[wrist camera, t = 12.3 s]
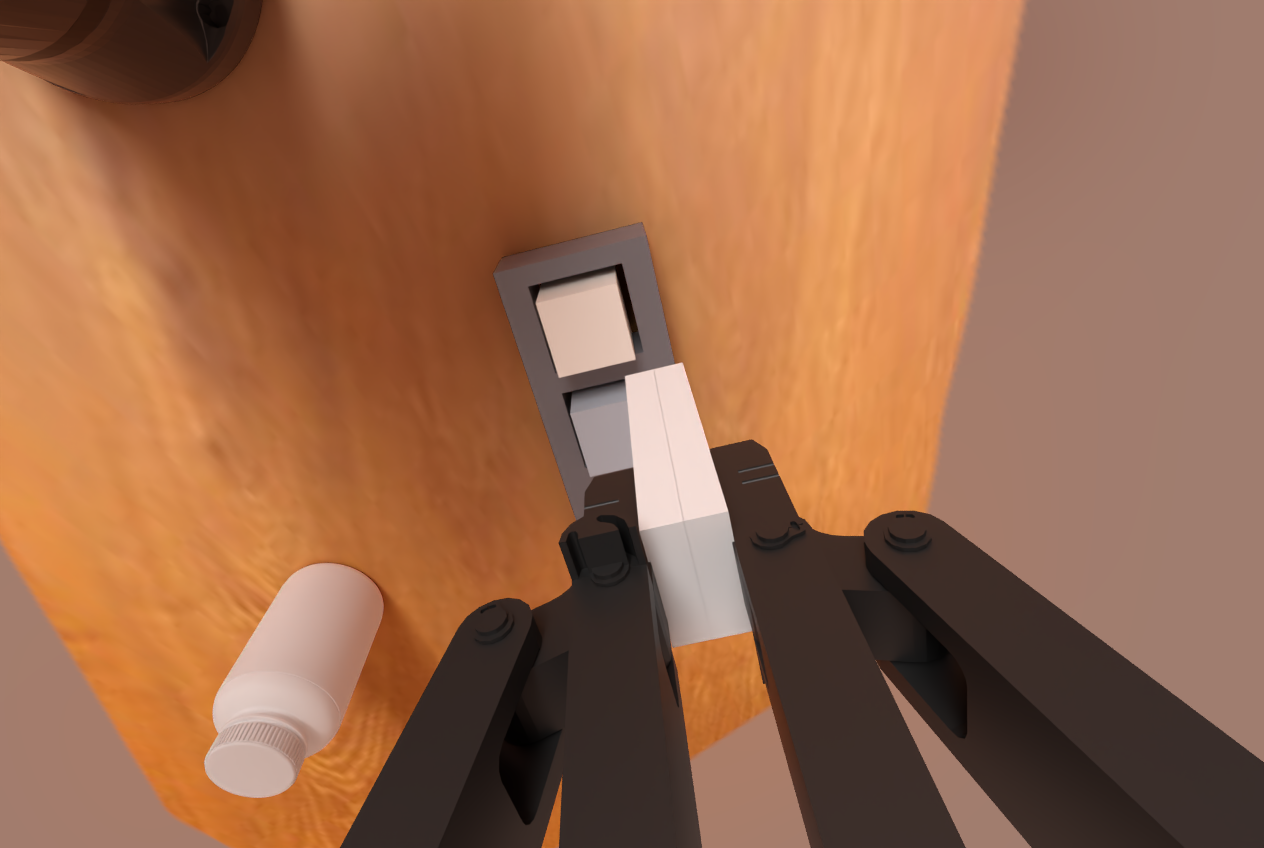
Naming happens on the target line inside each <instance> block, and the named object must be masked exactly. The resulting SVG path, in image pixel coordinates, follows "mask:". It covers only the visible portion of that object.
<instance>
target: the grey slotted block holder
mask: <svg viewBox="0 0 1264 848" xmlns="http://www.w3.org/2000/svg"><path fill="white" fill-rule="evenodd" d="M621 263H622V265H623V269H624V274H625V278H626V282H627V286H628V290H629V294H630V298H631V302H632V306H633V310H634V314H635V319H636V323H637V327H638V331H637V332H633V333H632V337H633V344H634V351H635V358H636V360H632V361H628V362H624V363H620V364H615V365H611V366H607V367H603V368H599V369H594V370H590V371H586V372H582V373H578V374H573V375H569V376H565V377H561V378H559V376H558V373H557V370H556V367H555V364H554V360H553V357H552V354H551V351H550V348H549V344H548V341H547V338H546V335H545V332H544V329H543V325H542V322H541V319H540V316H539V313H538V309H537V306H536V300H537V297H538V294H539V290H540V288H539V285H538V284H540V283H544V282H548V281H552V280H556V279H560V278H565V277H569V276H573V275H577V274H581V273H585V272H589V271H593V270H597V269H601V268H605V267H609V266H613V265H617V264H621ZM493 276H494V279H495V281H496V284H497V287H498V290H499V293H500V296H501V299H502V302H503V305H504V308H505V311H506V314H507V317H508V320H509V323H510V326H511V329H512V332H513V335H514V338H515V341H516V344H517V347H518V350H519V353H520V355H521V358H522V361H523V364H524V367H525V370H526V373H527V376H528V379H529V382H530V385H531V388H532V391H533V394H534V397H535V400H536V403H537V406H538V409H539V412H540V415H541V418H542V421H543V424H544V426H545V429H546V432H547V435H548V438H549V441H550V444H551V447H552V450H553V453H554V456H555V459H556V462H557V465H558V468H559V471H560V474H561V477H562V480H563V483H564V486H565V489H566V492H567V495H568V498H569V500H570V503H571V506H572V509H573V512H574V515H575V518H576V521H577V520H578V519H580V518H582V517H583V516H584V510H585V508H584V496H585V491H586V489H587V488H588V486H589V484H590V483H591V481H592V480H593V478H594V477H596V476H592V477H590V475H589V472H588V469H587V465H586V462H585V459H584V456H583V453H582V450H581V446H580V443H579V440H578V437H577V434H576V430H575V427H574V424H573V421H572V418H571V415H570V411H571V399H572V392H571V391H575V390H579V389H583V388H587V387H592V386H596V385H600V384H604V383H608V382H613V381H617V380H621V379H625V376H627V375H632V374H636V373H640V372H644V371H648V370H653V369H657V368H661V367H665V366H669V365H674V364H675V362H674V357H673V353H672V348H671V344H670V339H669V335H668V330H667V326H666V322H665V317H664V313H663V308H662V304H661V299H660V295H659V290H658V286H657V281H656V277H655V272H654V268H653V263H652V259H651V254H650V250H649V245H648V241H647V236H646V233H645V230H644V227H643V224H642V222H641V223H637V224H633V225H629V226H625V227H621V228H617V229H613V230H609V231H605V232H601V233H597V234H593V235H589V236H585V237H581V238H578V239H574V240H570V241H566V242H562V243H558V244H554V245H550V246H546V247H542V248H538V249H534V250H530V251H526V252H522V253H518V254H514V255H510V256H506V257H502V258H501V260H500V262H499V264H498V265H497V267H496V269H495V271H494V273H493ZM632 468H633V467H632ZM632 468H627V469H632ZM627 469H623V470H627ZM623 470H619V471H623ZM614 472H618V471H614ZM614 472H610V473H614ZM610 473H605V474H610ZM605 474H601V475H605ZM601 475H597V476H601Z"/></svg>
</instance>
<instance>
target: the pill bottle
mask: <svg viewBox="0 0 1264 848" xmlns="http://www.w3.org/2000/svg"><path fill="white" fill-rule="evenodd" d="M383 610H384V604H383V598H382V595H381V593H380V591H379V589H378V587H377V586H376V584H375V583H374V582H373V581H372V580H371V579H370V578H369V577H367V576H366V575H365V574H363V573H362V572H360V571H358V570H356V569H354V568H351V567H348V566H345V565H341V564H335V563H319V564H313V565H309V566H306V567H304V568H302V569H300V570H298V571H297V572H295V573H294V574H293V575H291V576H290V577H289V578H288V580H287V581H286V582H285V583H284V585H283V586H282V587H281V589H280V591H279V592H278V594H277V596H276V597H275V599H274V600H273V602H272V604H271V605H270V607H269V609H268V610H267V612H266V614H265V615H264V617H263V618H262V620H261V622H260V623H259V625H258V627H257V628H256V630H255V631H254V633H253V635H252V636H251V638H250V640H249V641H248V643H247V645H246V646H245V648H244V649H243V651H242V653H241V654H240V656H239V658H238V659H237V661H236V662H235V664H234V666H233V667H232V669H231V671H230V672H229V674H228V676H227V677H226V679H225V680H224V682H223V684H222V685H221V687H220V689H219V691H218V693H217V695H216V697H215V701H214V705H213V721H214V725H215V727H216V730H217V732H218V733H219V734H218V736H217V737H216V739H215V741H214V743H213V744H212V746H211V748H210V750H209V751H208V753H207V755H206V757H205V762H204V763H205V764H204V765H205V771H206V773H207V775H208V777H209V778H210V779H211V780H212V781H213V782H214V783H215V784H216V785H217V786H219V787H220V788H222V789H224V790H226V791H228V792H230V793H233V794H236V795H240V796H245V797H253V798H261V797H270V796H274V795H277V794H280V793H282V792H284V791H285V790H287V789H288V788H289V787H290V786H292V785H293V784H294V782H295V780H296V778H297V776H298V774H299V771H300V769H301V766H302V764H303V762H304V758H307V757H309V756H311V755H313V754H315V753H317V752H319V751H320V750H321V749H323V748H324V747H325V746H326V745H327V744H328V743H329V742H330V741H331V740H332V739H333V737H334V736H335V735H336V733H337V732H338V730H339V728H340V725H341V723H342V720H343V718H344V715H345V713H346V710H347V708H348V705H349V702H350V700H351V697H352V695H353V692H354V689H355V687H356V684H357V682H358V679H359V677H360V674H361V671H362V669H363V666H364V664H365V661H366V659H367V656H368V653H369V651H370V648H371V646H372V643H373V641H374V638H375V635H376V633H377V630H378V628H379V625H380V623H381V619H382V615H383Z"/></svg>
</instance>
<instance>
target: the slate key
mask: <svg viewBox="0 0 1264 848" xmlns="http://www.w3.org/2000/svg"><path fill="white" fill-rule="evenodd" d="M570 415H571V418H572V421H573V424H574V427H575V430H576V434H577V437H578V440H579V443H580V446H581V450H582V453H583V456H584V459H585V462H586V465H587V469H588V472H589V475H590V477H592V476H597V475H601V474H605V473H610V472H614V471H619V470H623V469H627V468H632V467H633V457H632V447H631V436H630V425H629V414H628V403H627V393H626V382H625V379H621V380H617V381H613V382H608V383H604V384H600V385H596V386H592V387H587V388H583V389H579V390H575V391H572V399H571V411H570Z"/></svg>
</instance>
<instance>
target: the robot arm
mask: <svg viewBox="0 0 1264 848" xmlns="http://www.w3.org/2000/svg"><path fill="white" fill-rule="evenodd" d="M261 5H262V0H0V61H3V62H6V63H8V64H10V65H12V66H14V67H17V68H19V69H21V70H23V71H26V72H28V73H30V74H33V75H35V76H37V77H40V78H42V79H44V80H45V81H47V82H49V83H51V84H53V85H55V86H58V87H60V88H62V89H65V90H67V91H70V92H72V93H75V94H78V95H81V96H85V97H89V98H93V99H97V100H102V101H107V102H113V103H122V104H152V103H168V102H176V101H180V100H185V99H188V98H191V97H194V96H196V95H199V94H201V93H203V92H205V91H207V90H209V89H210V88H212V87H214V86H215V85H216V84H218V83H219V82H221V81H222V80H223V79H224V78H225V77H226V76H227V75H228V74H229V73H230V72H231V71H232V70H233V69H234V68H235V67H236V66H237V64H238V63H239V62H240V60H241V59H242V57H243V56H244V54H245V53H246V51H247V49H248V47H249V45H250V43H251V41H252V38H253V36H254V33H255V30H256V27H257V24H258V20H259V16H260V11H261ZM625 382H626V393H627V403H628V414H629V425H630V436H631V447H632V457H633V468H632V469H627V470H623V471H618V472H614V473H610V474H605V475H601V476H596V477H594V478H593V480H592V481H591V483H590V484H589V486H588V488H587V489H586V491H585V496H584V508H585V510H584V516H583V517H582V518H580V519H578V520H577V521H575V522H573V523H572V524H570V526H569V527H568V528H567V529H566V530H565V531H564V532H563V533H562V536H561V538H560V541H559V545H560V548H561V551H562V554H563V556H564V559H565V562H566V565H567V568H568V570H569V573H570V576H571V579H572V586H571V587H570V589H568V590H567V591H566V592H564V593H563V594H562V595H561V596H559V597H557V598H555V599H554V600H552V601H550V602H548V603H546V604H544V605H542V606H539V607H537V608H535V609H533V610H531V609H530V607H529V605H528V604H526V603H525V602H523V601H522V600H520V599H512V598H505V599H500V600H494V601H492V602H490V603H487V604H485V605H483V606H481V607H479V608H478V609H476V610H475V611H474V612H472V613H471V614H470V615H469V616H467V617H466V619H465V620H464V621H463V623H462V624H461V625H460V626H459V628H458V630H457V631H456V633H455V635H454V637H453V639H452V641H451V643H450V644H449V646H448V648H447V650H446V652H445V654H444V656H443V657H442V659H441V661H440V663H439V665H438V667H437V669H436V670H435V672H434V674H433V676H432V678H431V680H430V682H429V683H428V685H427V687H426V689H425V691H424V693H423V695H422V696H421V698H420V700H419V702H418V704H417V706H416V708H415V709H414V711H413V713H412V715H411V717H410V719H409V721H408V722H407V724H406V726H405V728H404V730H403V732H402V734H401V735H400V737H399V739H398V741H397V743H396V745H395V747H394V748H393V750H392V752H391V754H390V756H389V758H388V760H387V761H386V763H385V765H384V767H383V769H382V771H381V773H380V774H379V776H378V778H377V780H376V782H375V784H374V786H373V787H372V789H371V791H370V793H369V795H368V797H367V799H366V800H365V802H364V804H363V806H362V808H361V810H360V812H359V813H358V815H357V817H356V819H355V821H354V823H353V825H352V826H351V828H350V830H349V832H348V834H347V836H346V838H345V839H344V841H343V843H342V845H341V847H340V848H541V847H542V843H543V840H544V837H545V833H546V830H547V826H548V823H549V819H550V816H551V812H552V809H553V805H554V802H555V798H556V795H557V792H558V788H559V785H560V781H561V778H562V798H561V818H560V839H559V848H702V844H701V837H700V830H699V822H698V815H697V809H696V801H695V793H694V786H693V779H692V772H691V765H690V758H689V750H688V743H687V736H686V729H685V722H684V715H683V707H682V700H681V693H680V686H679V679H678V672H677V668H676V664H675V661H674V657H673V654H672V650H671V643H672V647H673V648H674V647H678V646H683V645H688V644H693V643H698V642H702V641H707V640H712V639H717V638H722V637H726V636H731V635H736V634H741V633H746V632H750V631H753V636H754V641H755V646H756V651H757V655H758V660H759V665H760V670H761V675H762V680H763V684H766V688H767V691H768V695H769V698H770V702H771V706H772V709H773V713H774V716H775V720H776V723H777V727H778V731H779V734H780V738H781V742H782V745H783V749H784V752H785V756H786V760H787V763H788V767H789V771H790V774H791V778H792V781H793V785H794V789H795V792H796V796H797V799H798V803H799V807H800V810H801V814H802V817H803V821H804V824H805V828H806V832H807V836H808V839H809V843H810V846H811V848H966V847H965V846H964V843H963V841H962V839H961V837H960V835H959V833H958V831H957V829H956V827H955V824H954V822H953V821H952V818H951V816H950V814H949V812H948V810H947V808H946V806H945V804H944V802H943V800H942V797H941V795H940V793H939V791H938V789H937V787H936V785H935V783H934V781H933V779H932V777H931V775H930V772H929V770H928V768H927V766H926V764H925V762H924V760H923V758H922V756H921V754H920V752H919V750H918V748H917V745H916V744H915V741H914V739H913V737H912V735H911V733H910V731H909V729H908V727H907V725H906V723H905V721H904V718H903V717H902V714H901V712H900V710H899V708H898V706H897V704H896V702H895V700H894V698H893V696H892V693H891V691H890V689H889V687H888V685H887V683H886V681H885V679H884V677H883V675H882V673H881V671H880V669H881V670H882V671H883V672H884V673H885V674H886V676H887V677H888V678H889V679H890V680H891V682H892V683H893V684H894V685H895V686H896V688H897V689H898V690H899V691H900V692H901V693H902V695H903V696H904V697H905V698H906V699H907V700H908V702H909V703H910V704H911V705H912V706H913V708H914V709H915V710H916V711H917V712H918V714H919V715H920V716H921V717H922V718H923V719H924V721H925V722H926V723H927V724H928V725H929V726H930V728H931V729H932V730H933V731H934V732H935V734H936V735H937V736H938V737H939V738H940V740H941V741H942V742H943V743H944V744H945V745H946V747H947V748H948V749H949V750H950V751H951V753H952V754H953V755H954V756H955V757H956V759H957V760H958V761H959V762H960V763H961V764H962V766H963V767H964V768H965V769H966V770H967V771H968V773H969V774H970V775H971V776H972V777H973V779H974V780H975V781H976V782H977V783H978V785H979V786H980V787H981V788H982V789H983V790H984V792H985V793H986V794H987V795H988V796H989V798H990V799H991V800H992V801H993V802H994V803H995V805H996V806H997V807H998V808H999V809H1000V811H1001V812H1002V813H1003V814H1004V815H1005V817H1006V818H1007V819H1008V820H1009V821H1010V822H1011V824H1012V825H1013V826H1014V827H1015V828H1016V829H1017V831H1018V832H1019V833H1020V834H1021V835H1022V837H1023V838H1024V839H1025V840H1026V841H1027V843H1028V844H1029V845H1030V846H1031V847H1032V848H1264V762H1263V761H1261V760H1260V759H1259V758H1257V757H1256V756H1254V755H1253V754H1252V753H1250V752H1249V751H1248V750H1247V749H1245V748H1244V747H1243V746H1241V745H1240V744H1239V743H1237V742H1236V741H1235V740H1233V739H1232V738H1231V737H1229V736H1228V735H1227V734H1225V733H1224V732H1223V731H1222V730H1220V729H1219V728H1218V727H1216V726H1215V725H1214V724H1212V723H1211V722H1210V721H1208V720H1207V719H1206V718H1204V717H1203V716H1201V715H1200V714H1199V713H1198V712H1196V711H1195V710H1193V709H1192V708H1191V707H1190V706H1188V705H1187V704H1185V703H1184V702H1183V701H1182V700H1180V699H1179V698H1178V697H1176V696H1175V695H1173V694H1172V693H1171V692H1170V691H1168V690H1167V689H1166V688H1164V687H1163V686H1162V685H1160V684H1159V683H1158V682H1156V681H1155V680H1154V679H1152V678H1151V677H1150V676H1148V675H1147V674H1146V673H1144V672H1143V671H1142V670H1140V669H1139V668H1138V667H1136V666H1135V665H1134V664H1132V663H1131V662H1130V661H1129V660H1127V659H1126V658H1124V657H1123V656H1122V655H1120V654H1119V653H1118V652H1116V651H1115V650H1114V649H1113V648H1111V647H1110V646H1109V645H1107V644H1106V643H1104V642H1103V641H1102V640H1101V639H1099V638H1098V637H1097V636H1095V635H1094V634H1093V633H1091V632H1090V631H1089V630H1087V629H1086V628H1085V627H1083V626H1082V625H1081V624H1079V623H1078V622H1077V621H1075V620H1074V619H1073V618H1071V617H1070V616H1069V615H1067V614H1066V613H1065V612H1063V611H1062V610H1061V609H1059V608H1058V607H1057V606H1055V605H1054V604H1053V603H1051V602H1050V601H1049V600H1047V599H1046V598H1045V597H1043V596H1042V595H1041V594H1039V593H1038V592H1037V591H1035V590H1034V589H1033V588H1032V587H1030V586H1029V585H1028V584H1026V583H1025V582H1024V581H1022V580H1021V579H1020V578H1018V577H1017V576H1016V575H1014V574H1013V573H1012V572H1010V571H1009V570H1008V569H1006V568H1005V567H1004V566H1002V565H1001V564H1000V563H998V562H997V561H996V560H994V559H993V558H992V557H990V556H989V555H988V554H986V553H985V552H983V551H982V550H981V549H980V548H978V547H977V546H976V545H974V544H973V543H972V542H970V541H969V540H967V539H966V538H965V537H964V536H962V535H961V534H960V533H958V532H957V531H956V530H954V529H953V528H952V527H950V526H949V525H948V524H946V523H945V522H944V521H942V520H940V519H938V518H936V517H934V516H932V515H930V514H926V513H922V512H917V511H895V512H891V513H887V514H882V515H880V516H879V517H877V518H875V519H874V520H872V521H870V523H869V524H868V525H867V527H866V528H865V530H864V536H836V535H829V534H825V533H821V532H818V531H816V530H814V529H812V527H811V526H810V525H809V524H808V523H807V522H806V520H805V519H802V518H800V517H799V516H798V514H797V512H796V510H795V508H794V506H793V504H792V502H791V499H790V497H789V495H788V493H787V491H786V489H785V487H784V484H783V482H782V480H781V478H780V476H779V474H778V472H777V470H776V467H775V465H774V464H773V461H772V459H771V457H770V455H769V452H768V450H767V449H766V448H765V447H763V446H761V445H760V444H758V443H757V442H755V441H754V440H747V441H743V442H738V443H734V444H730V445H725V446H721V447H716V448H712V449H709V447H708V444H707V440H706V437H705V434H704V431H703V427H702V424H701V421H700V418H699V414H698V411H697V408H696V405H695V401H694V398H693V395H692V392H691V388H690V385H689V382H688V379H687V375H686V372H685V369H684V366H683V362H682V363H678V364H674V365H669V366H665V367H661V368H657V369H653V370H648V371H644V372H640V373H636V374H632V375H627V376H625ZM670 640H671V642H670ZM876 661H877V662H876ZM877 663H878V665H879V666H880V668H879V666H878V665H877ZM562 774H563V777H562Z"/></svg>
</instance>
